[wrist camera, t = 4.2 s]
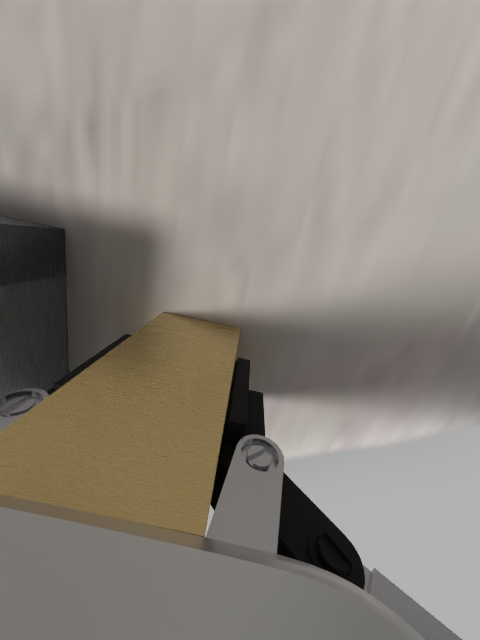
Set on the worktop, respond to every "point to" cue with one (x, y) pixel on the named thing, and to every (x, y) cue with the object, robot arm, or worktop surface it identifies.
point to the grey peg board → (32, 305)
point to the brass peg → (131, 429)
